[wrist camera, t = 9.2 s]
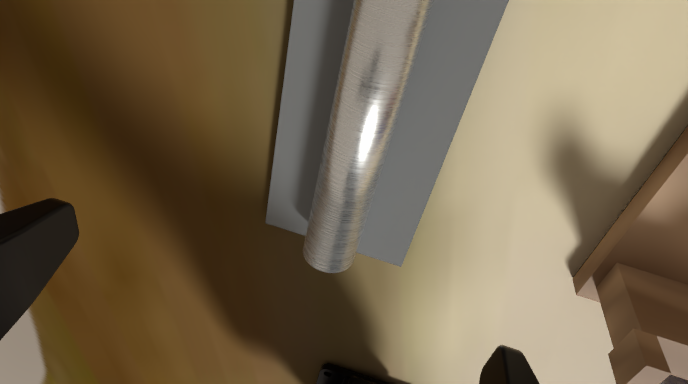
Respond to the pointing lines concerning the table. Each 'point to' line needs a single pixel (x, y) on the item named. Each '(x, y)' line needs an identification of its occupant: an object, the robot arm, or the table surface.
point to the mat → (411, 126)
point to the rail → (361, 124)
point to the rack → (646, 276)
